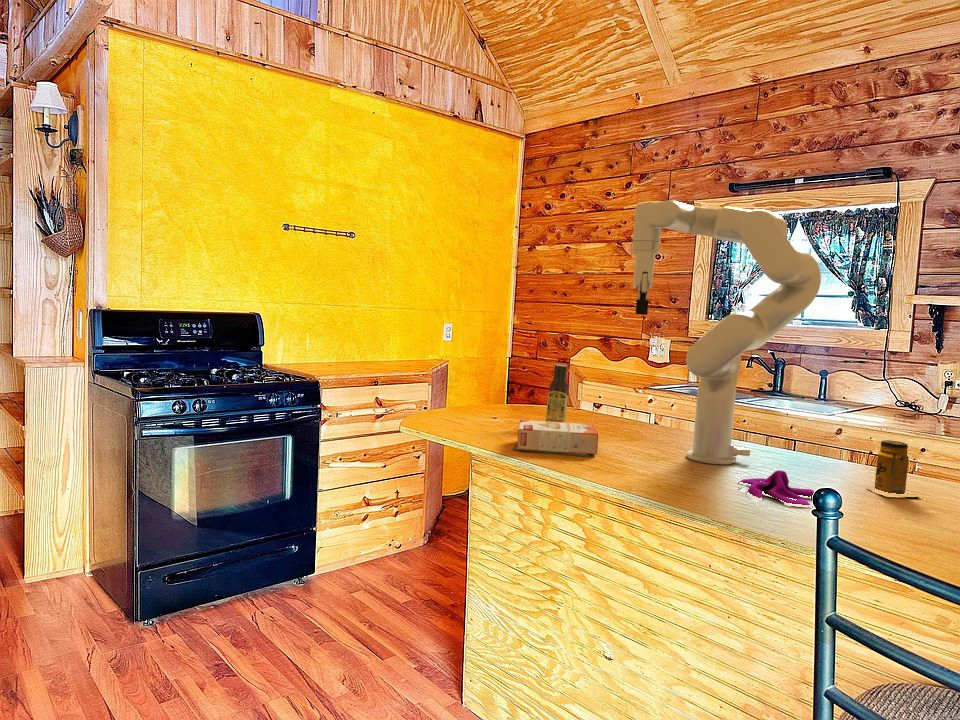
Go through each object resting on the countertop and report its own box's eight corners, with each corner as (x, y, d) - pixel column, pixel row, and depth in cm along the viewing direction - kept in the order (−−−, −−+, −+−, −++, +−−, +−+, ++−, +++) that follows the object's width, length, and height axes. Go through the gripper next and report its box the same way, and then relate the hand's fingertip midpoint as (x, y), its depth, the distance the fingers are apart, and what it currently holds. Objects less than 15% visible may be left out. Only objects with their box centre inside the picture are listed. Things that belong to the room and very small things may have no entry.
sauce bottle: (543, 428, 214) (547, 365, 212) (547, 425, 220) (551, 363, 218) (564, 430, 212) (568, 366, 210) (567, 427, 218) (571, 364, 216)
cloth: (745, 479, 166) (747, 454, 165) (830, 496, 154) (833, 469, 154) (713, 498, 148) (715, 470, 148) (806, 519, 137) (809, 489, 136)
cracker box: (599, 432, 179) (518, 428, 180) (597, 455, 179) (517, 450, 181) (594, 422, 193) (518, 418, 194) (592, 444, 193) (517, 440, 195)
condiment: (865, 489, 160) (870, 438, 159) (899, 490, 161) (904, 439, 160) (886, 498, 153) (892, 445, 152) (922, 499, 154) (928, 446, 153)
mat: (591, 444, 195) (591, 442, 195) (589, 456, 179) (589, 455, 179) (520, 438, 198) (520, 436, 198) (513, 450, 183) (513, 448, 182)
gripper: (631, 250, 201) (627, 313, 203) (633, 246, 187) (628, 314, 188) (658, 250, 200) (653, 314, 202) (661, 247, 185) (656, 315, 187)
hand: (641, 314), depth 195 cm, fingers closed
